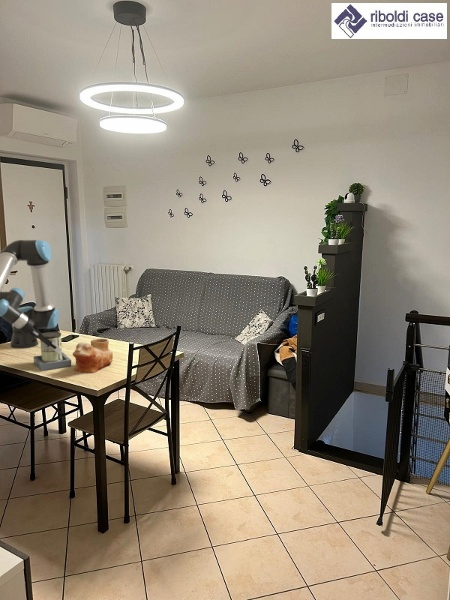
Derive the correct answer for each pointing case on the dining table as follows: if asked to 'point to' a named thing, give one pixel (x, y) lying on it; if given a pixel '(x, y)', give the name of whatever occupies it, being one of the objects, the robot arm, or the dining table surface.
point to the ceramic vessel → (92, 356)
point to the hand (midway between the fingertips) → (57, 349)
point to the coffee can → (47, 352)
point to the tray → (52, 363)
